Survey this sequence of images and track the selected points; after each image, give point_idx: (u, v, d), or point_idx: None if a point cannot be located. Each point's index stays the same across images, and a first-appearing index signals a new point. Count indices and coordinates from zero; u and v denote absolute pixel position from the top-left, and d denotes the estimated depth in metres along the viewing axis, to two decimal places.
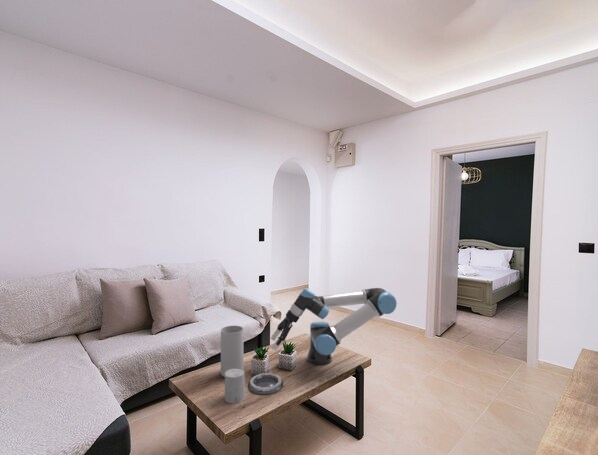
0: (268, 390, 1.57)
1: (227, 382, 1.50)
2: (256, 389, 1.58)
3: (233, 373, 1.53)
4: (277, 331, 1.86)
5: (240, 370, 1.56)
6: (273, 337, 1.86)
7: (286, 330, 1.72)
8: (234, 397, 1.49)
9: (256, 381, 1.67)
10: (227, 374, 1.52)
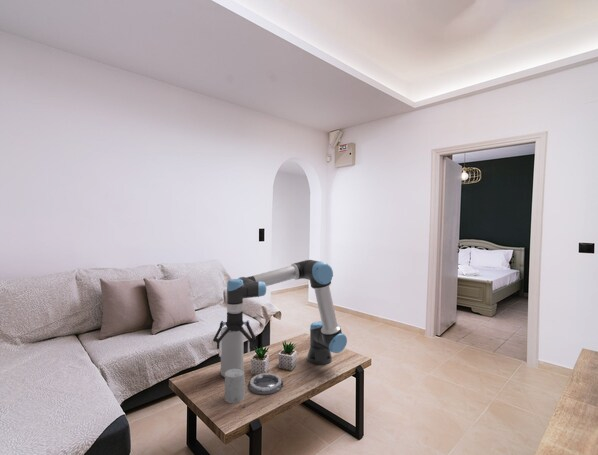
0: (268, 390, 1.57)
1: (227, 382, 1.50)
2: (256, 389, 1.58)
3: (233, 373, 1.53)
4: (221, 344, 1.52)
5: (240, 370, 1.56)
6: (221, 352, 1.53)
7: (251, 329, 1.54)
8: (234, 397, 1.49)
9: (256, 381, 1.67)
10: (227, 374, 1.52)
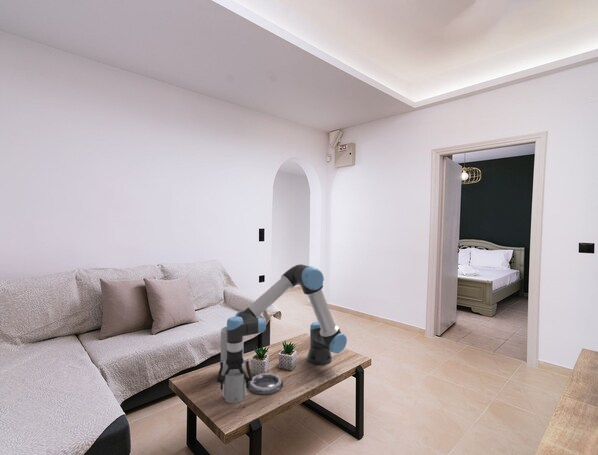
0: (268, 390, 1.57)
1: (227, 382, 1.50)
2: (256, 389, 1.58)
3: (233, 373, 1.53)
4: (224, 384, 1.53)
5: None
6: (224, 393, 1.53)
7: (249, 369, 1.54)
8: (234, 397, 1.49)
9: (256, 381, 1.67)
10: (227, 374, 1.52)
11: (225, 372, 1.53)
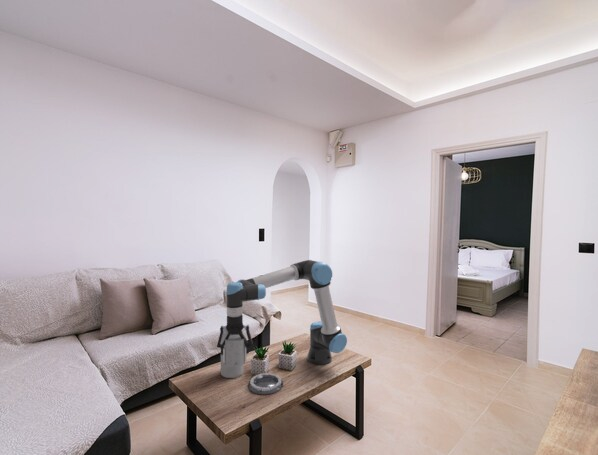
0: (268, 390, 1.57)
1: (227, 347, 1.49)
2: (256, 389, 1.58)
3: (233, 338, 1.53)
4: (224, 350, 1.52)
5: None
6: None
7: (249, 334, 1.53)
8: (234, 361, 1.49)
9: (256, 381, 1.67)
10: None
11: None
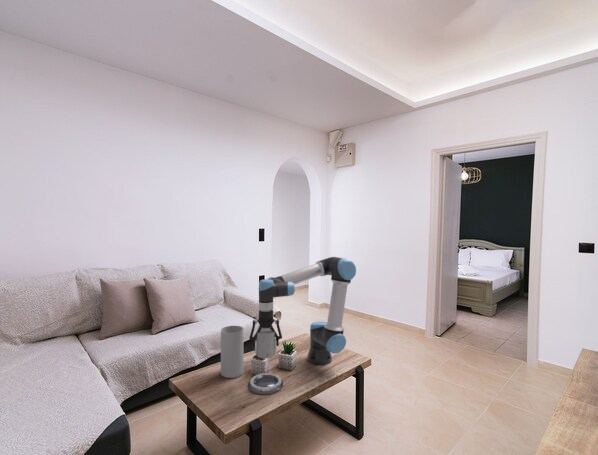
0: (268, 390, 1.57)
1: (259, 339, 1.61)
2: (256, 389, 1.58)
3: (264, 331, 1.64)
4: (256, 342, 1.64)
5: (270, 329, 1.67)
6: (256, 350, 1.64)
7: (279, 327, 1.65)
8: (266, 353, 1.60)
9: (256, 381, 1.67)
10: (259, 332, 1.63)
11: (257, 330, 1.64)
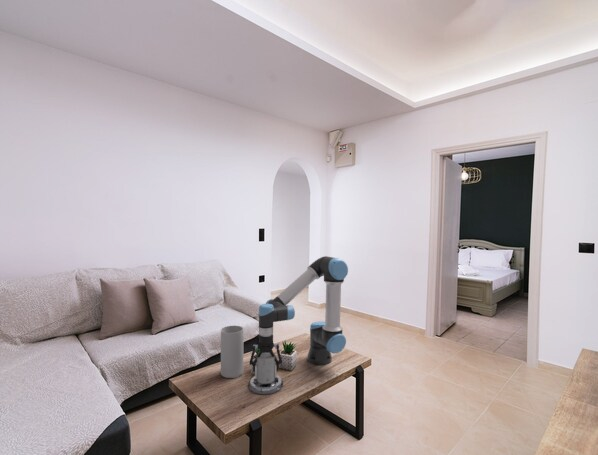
0: (268, 390, 1.57)
1: (259, 364, 1.61)
2: (256, 389, 1.58)
3: (264, 356, 1.64)
4: (256, 367, 1.64)
5: None
6: (256, 374, 1.64)
7: (279, 352, 1.65)
8: (266, 378, 1.60)
9: (256, 381, 1.67)
10: (259, 357, 1.63)
11: (257, 355, 1.64)
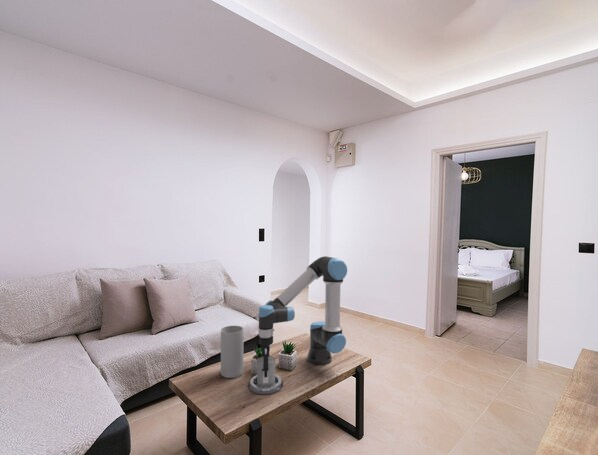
0: (268, 390, 1.57)
1: (272, 367, 1.62)
2: (256, 389, 1.58)
3: None
4: None
5: (261, 358, 1.67)
6: None
7: None
8: None
9: (256, 381, 1.67)
10: (268, 362, 1.62)
11: None
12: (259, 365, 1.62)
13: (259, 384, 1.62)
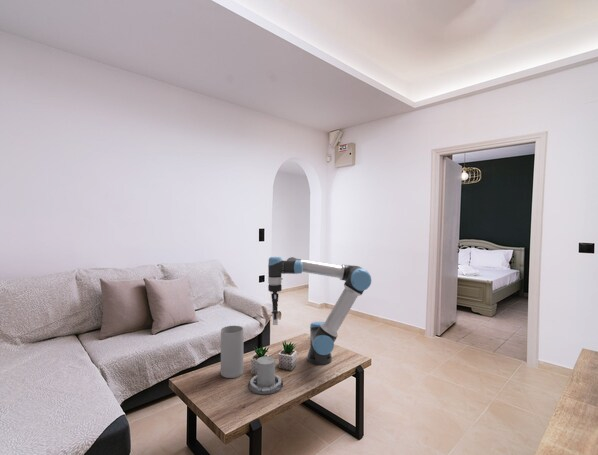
0: (268, 390, 1.57)
1: (272, 368, 1.62)
2: (256, 389, 1.58)
3: (266, 361, 1.64)
4: None
5: (261, 358, 1.67)
6: None
7: None
8: None
9: (256, 381, 1.67)
10: (268, 363, 1.62)
11: None
12: (259, 365, 1.61)
13: (259, 384, 1.62)
